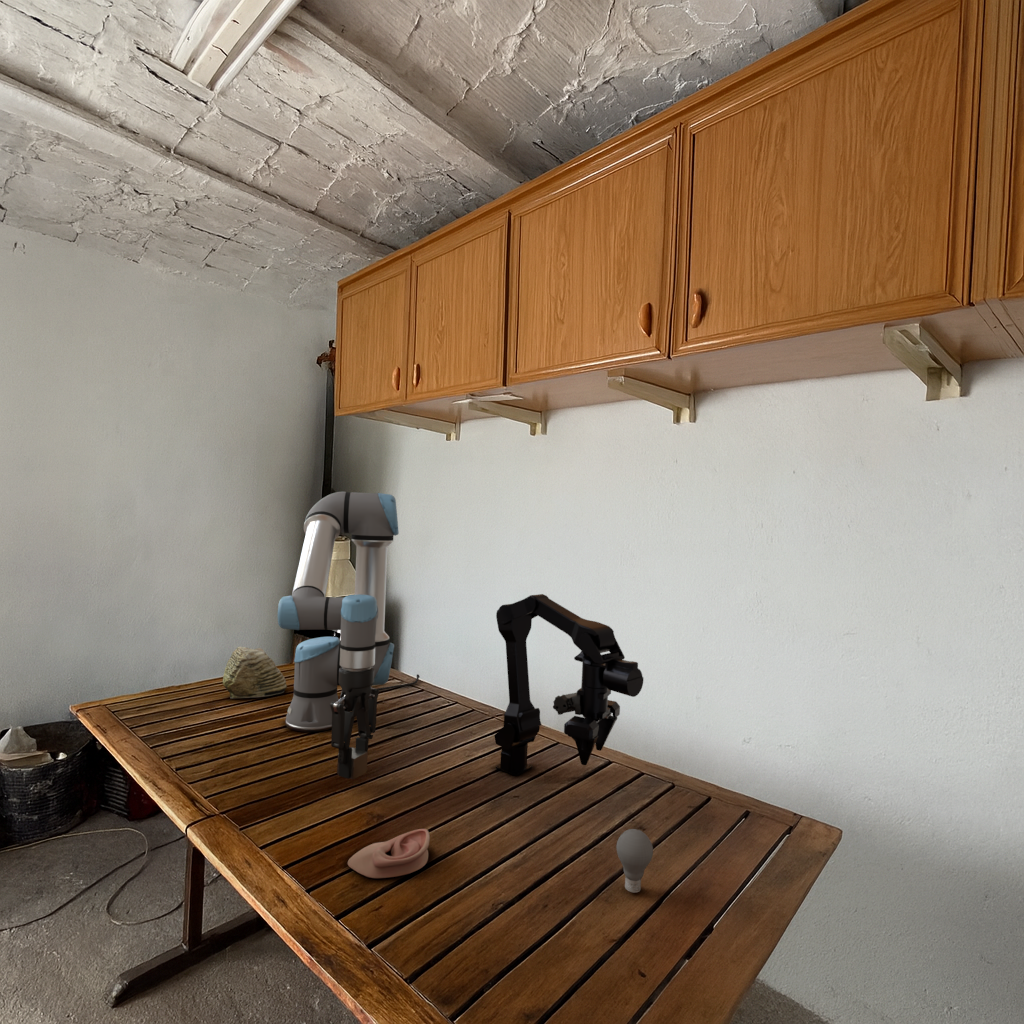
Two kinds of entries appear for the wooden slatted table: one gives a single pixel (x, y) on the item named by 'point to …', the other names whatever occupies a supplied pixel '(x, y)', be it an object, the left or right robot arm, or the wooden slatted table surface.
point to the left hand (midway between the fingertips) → (352, 771)
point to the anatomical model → (393, 856)
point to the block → (357, 763)
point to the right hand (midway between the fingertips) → (591, 757)
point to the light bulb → (634, 857)
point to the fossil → (252, 674)
